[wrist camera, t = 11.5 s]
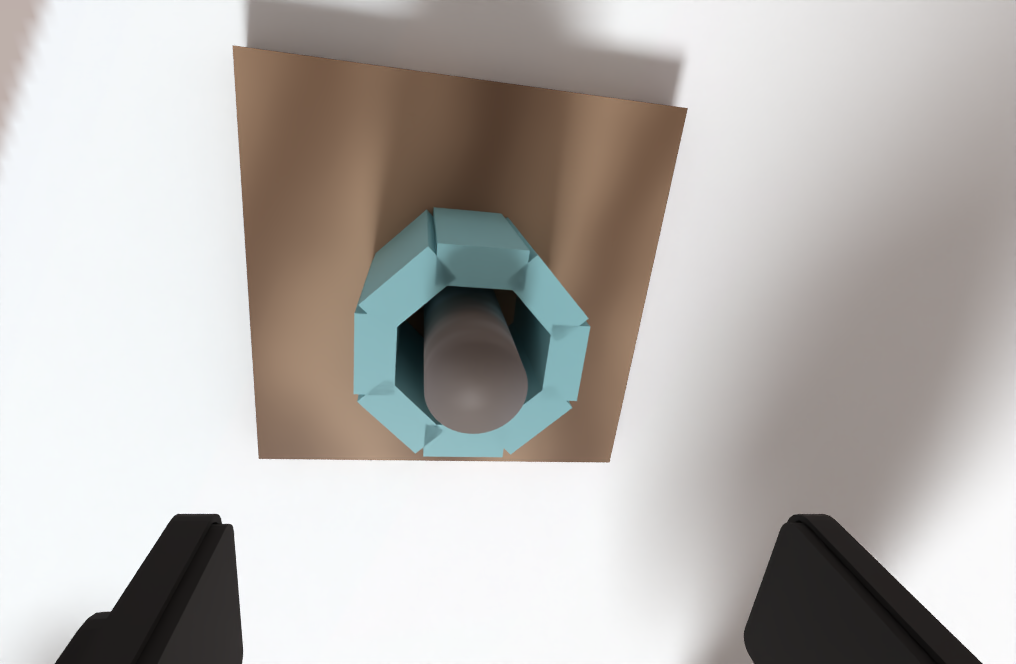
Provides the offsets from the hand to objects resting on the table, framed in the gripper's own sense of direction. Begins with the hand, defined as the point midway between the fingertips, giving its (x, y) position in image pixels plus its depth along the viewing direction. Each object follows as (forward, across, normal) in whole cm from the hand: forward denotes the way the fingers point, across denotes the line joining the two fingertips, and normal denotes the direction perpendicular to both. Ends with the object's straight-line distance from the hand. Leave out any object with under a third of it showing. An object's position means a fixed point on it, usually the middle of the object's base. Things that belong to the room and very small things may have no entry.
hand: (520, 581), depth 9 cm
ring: (+14, 0, -1) cm, 14 cm away
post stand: (+16, 0, -1) cm, 16 cm away
